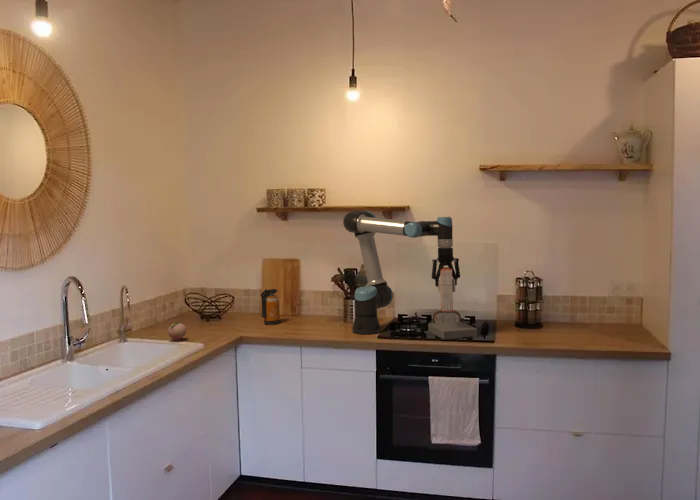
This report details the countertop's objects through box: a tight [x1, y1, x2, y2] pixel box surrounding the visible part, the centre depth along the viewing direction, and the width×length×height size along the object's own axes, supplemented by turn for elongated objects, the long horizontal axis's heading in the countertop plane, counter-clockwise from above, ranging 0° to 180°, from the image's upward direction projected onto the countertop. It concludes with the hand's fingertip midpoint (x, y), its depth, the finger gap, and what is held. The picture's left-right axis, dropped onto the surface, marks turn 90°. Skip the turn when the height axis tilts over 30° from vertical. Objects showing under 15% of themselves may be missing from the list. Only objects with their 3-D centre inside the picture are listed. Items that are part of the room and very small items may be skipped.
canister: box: [260, 288, 281, 325], centre depth 334 cm, size 9×11×20 cm
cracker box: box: [439, 266, 454, 311], centre depth 297 cm, size 14×6×21 cm, turn 173°
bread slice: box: [432, 309, 462, 323], centre depth 321 cm, size 15×3×8 cm, turn 84°
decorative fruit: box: [167, 321, 187, 341], centre depth 295 cm, size 9×8×10 cm
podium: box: [427, 320, 478, 340], centre depth 300 cm, size 18×20×4 cm
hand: (446, 292), depth 297 cm, fingers closed on cracker box, 7 cm apart
